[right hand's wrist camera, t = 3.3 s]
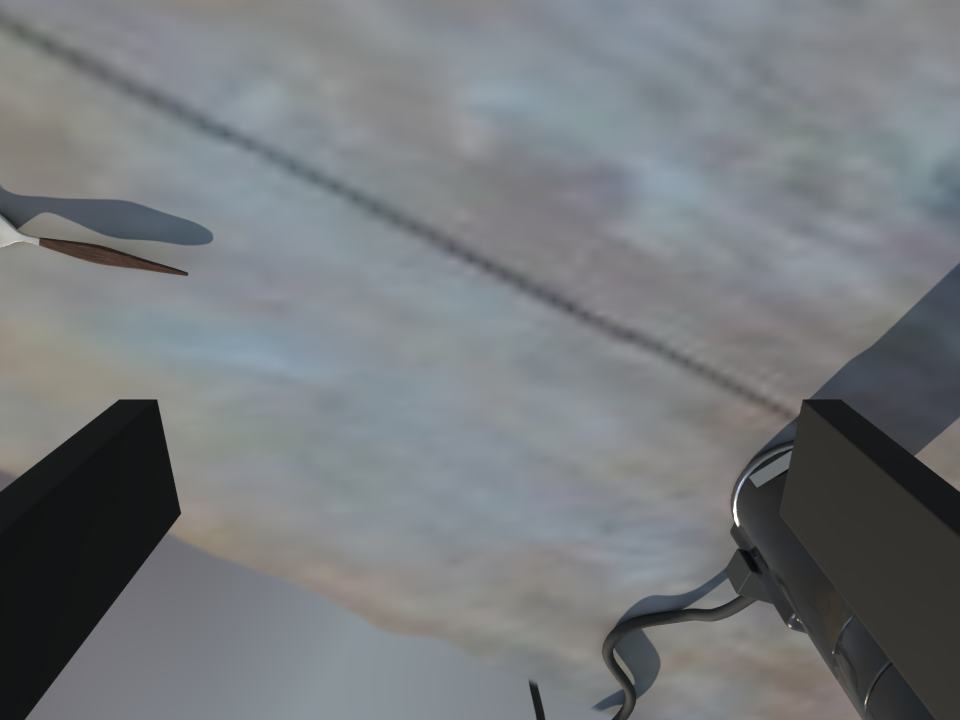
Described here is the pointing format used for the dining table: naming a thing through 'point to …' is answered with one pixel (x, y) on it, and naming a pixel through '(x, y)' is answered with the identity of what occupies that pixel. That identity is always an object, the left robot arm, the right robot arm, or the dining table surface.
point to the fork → (83, 250)
